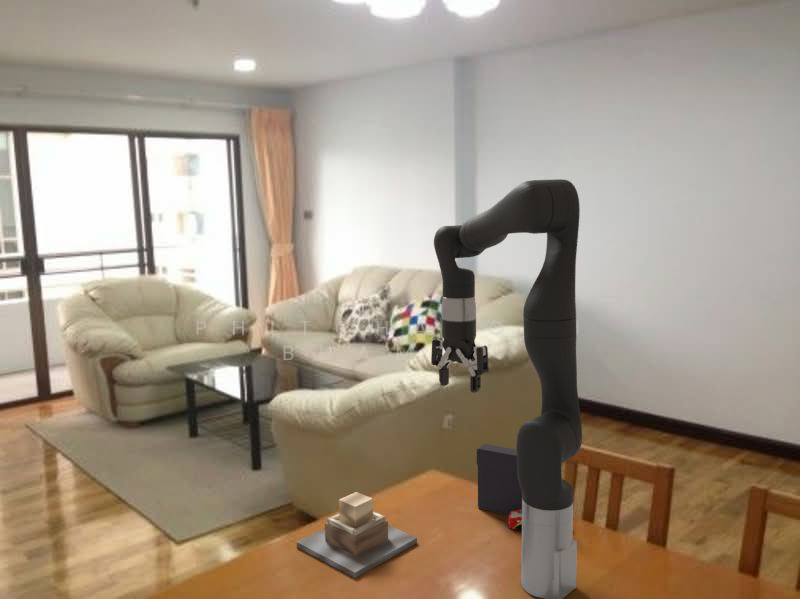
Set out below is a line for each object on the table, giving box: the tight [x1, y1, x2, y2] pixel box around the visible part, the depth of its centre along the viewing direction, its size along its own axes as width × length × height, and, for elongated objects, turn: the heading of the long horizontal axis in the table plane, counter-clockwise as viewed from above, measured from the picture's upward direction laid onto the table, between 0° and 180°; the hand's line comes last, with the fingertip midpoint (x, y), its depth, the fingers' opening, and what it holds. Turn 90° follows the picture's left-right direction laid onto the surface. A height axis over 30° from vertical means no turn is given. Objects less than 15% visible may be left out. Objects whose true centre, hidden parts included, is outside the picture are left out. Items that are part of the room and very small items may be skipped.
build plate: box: [296, 511, 418, 579], centre depth 147 cm, size 18×18×6 cm
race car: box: [507, 509, 522, 532], centre depth 153 cm, size 13×5×4 cm, turn 80°
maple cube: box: [338, 491, 374, 529], centre depth 146 cm, size 5×5×5 cm
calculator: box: [476, 443, 522, 516], centre depth 160 cm, size 11×4×15 cm, turn 59°
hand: (459, 388), depth 155 cm, fingers open, 8 cm apart
